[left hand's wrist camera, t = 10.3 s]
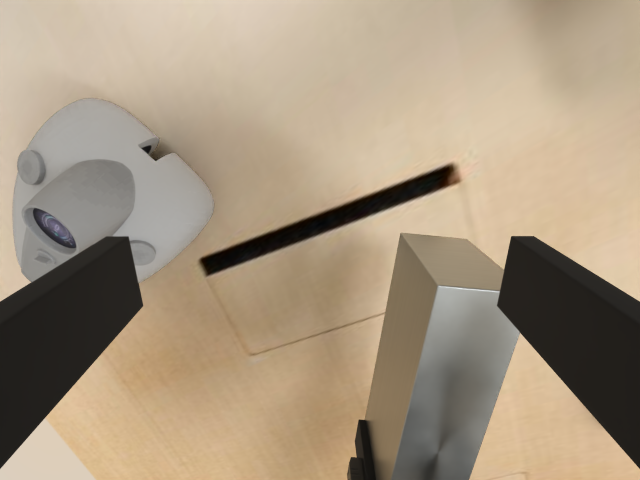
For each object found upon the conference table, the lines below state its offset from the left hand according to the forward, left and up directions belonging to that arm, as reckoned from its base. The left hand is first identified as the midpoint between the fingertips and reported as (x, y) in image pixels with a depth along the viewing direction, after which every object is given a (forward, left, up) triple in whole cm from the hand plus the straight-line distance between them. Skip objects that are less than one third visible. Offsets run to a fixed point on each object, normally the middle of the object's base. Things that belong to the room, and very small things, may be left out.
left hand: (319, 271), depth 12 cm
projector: (+12, -20, -28) cm, 37 cm away
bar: (+13, +12, -14) cm, 23 cm away
